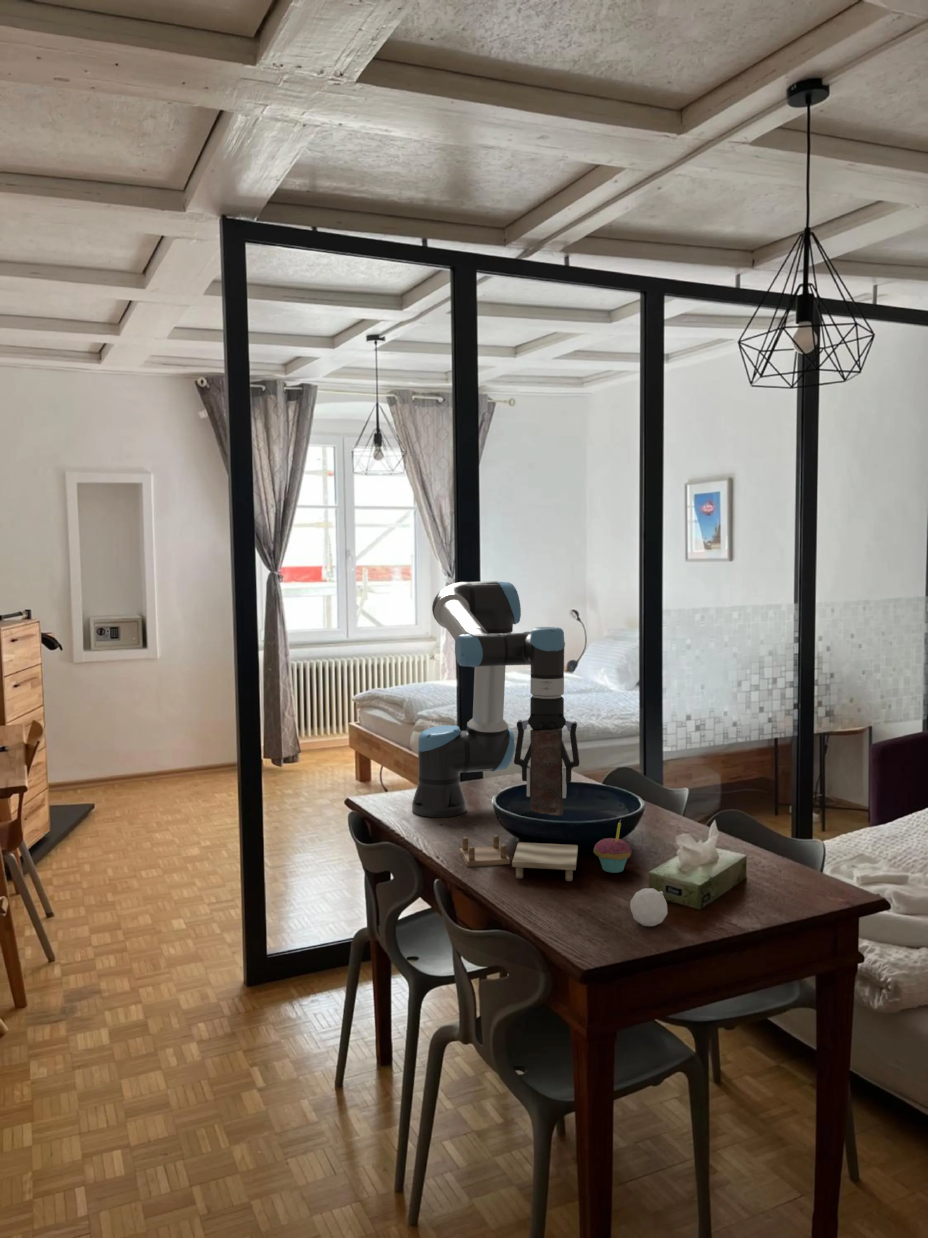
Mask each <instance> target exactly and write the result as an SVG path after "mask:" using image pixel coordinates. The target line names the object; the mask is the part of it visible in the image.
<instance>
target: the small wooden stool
mask: <svg viewBox="0 0 928 1238" xmlns="http://www.w3.org/2000/svg"><path fill="white" fill-rule="evenodd" d="M578 853H579V846H578V845H577V844H560V843H543V842H542V843H539V842H523V841H522V842H521V841H519V842H518V843H517V845H516V849H515V852H514V856H513V858H512V861H511V867H512V868H515V879H523V878H524V869H525V868H527V869H546V870H547V869H548V870H562V871H565V872H564V873H565V881H566V882H572V881H573V879H574V878H573V877H574V875H573V873H574V871H576V870H577V869H576V868H577V862H578V861H577V860H578Z"/></svg>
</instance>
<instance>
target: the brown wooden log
mask: <svg viewBox="0 0 928 1238" xmlns="http://www.w3.org/2000/svg"><path fill="white" fill-rule="evenodd" d="M529 734H530V743H531V757H530V766H531V779H530V780H531V788H530V794H531V795H530V809H531V811H533V812H535V813H538V814H543V815H545V814H546V815H550V816H557V817H558V816H562V815H563V813H564V798H562V773H563V759H562V756H561V741H563V728H562V729H561V728H559V729H553V730H548V729H545V730H537V731H535V730H533V729H530V733H529Z"/></svg>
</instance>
